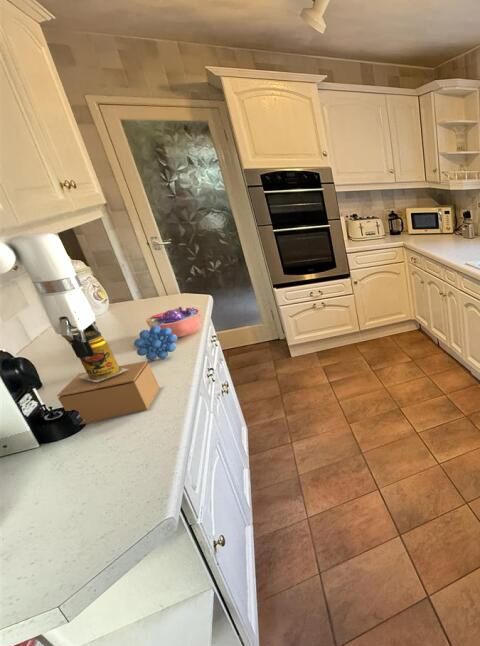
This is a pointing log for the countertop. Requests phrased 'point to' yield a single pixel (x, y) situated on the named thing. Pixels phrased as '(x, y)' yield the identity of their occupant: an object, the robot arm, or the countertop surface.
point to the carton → (115, 394)
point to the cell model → (177, 321)
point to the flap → (79, 385)
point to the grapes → (155, 342)
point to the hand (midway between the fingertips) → (91, 350)
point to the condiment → (99, 359)
